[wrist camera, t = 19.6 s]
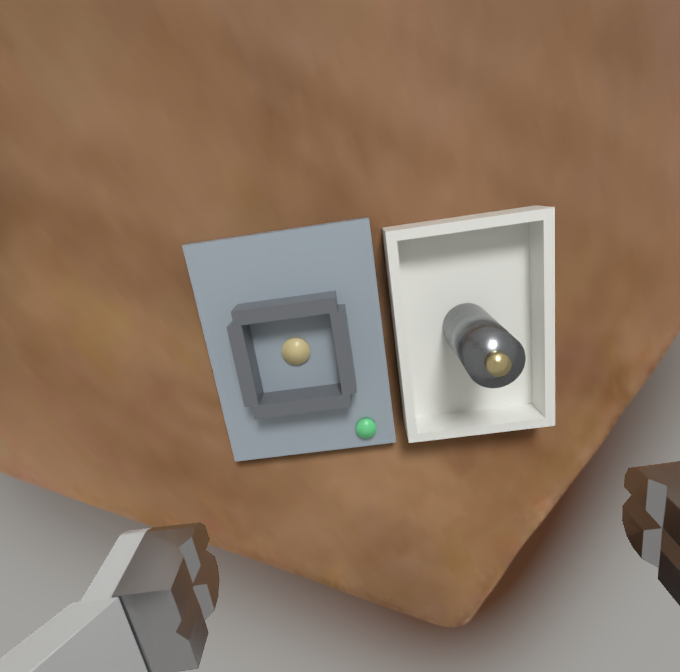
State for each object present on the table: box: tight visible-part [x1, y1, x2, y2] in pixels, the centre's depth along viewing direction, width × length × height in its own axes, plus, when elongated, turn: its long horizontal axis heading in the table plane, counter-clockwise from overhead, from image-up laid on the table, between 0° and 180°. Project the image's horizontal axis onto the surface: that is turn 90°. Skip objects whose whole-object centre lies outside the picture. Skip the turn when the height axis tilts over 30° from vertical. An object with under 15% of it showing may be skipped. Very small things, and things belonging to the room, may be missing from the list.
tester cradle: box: [182, 217, 396, 462], centre depth 39 cm, size 20×15×4 cm
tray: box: [382, 205, 555, 443], centre depth 38 cm, size 18×12×4 cm
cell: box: [443, 303, 526, 388], centre depth 35 cm, size 4×4×9 cm
